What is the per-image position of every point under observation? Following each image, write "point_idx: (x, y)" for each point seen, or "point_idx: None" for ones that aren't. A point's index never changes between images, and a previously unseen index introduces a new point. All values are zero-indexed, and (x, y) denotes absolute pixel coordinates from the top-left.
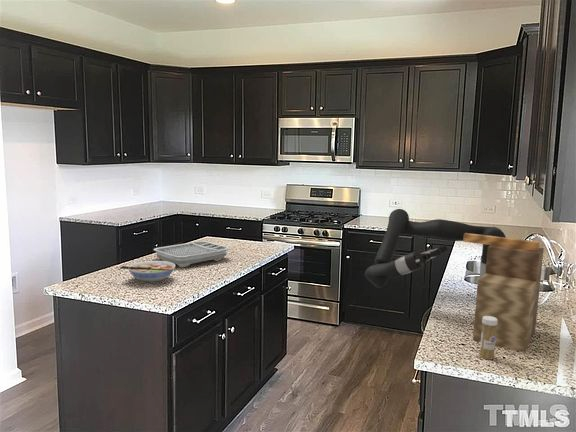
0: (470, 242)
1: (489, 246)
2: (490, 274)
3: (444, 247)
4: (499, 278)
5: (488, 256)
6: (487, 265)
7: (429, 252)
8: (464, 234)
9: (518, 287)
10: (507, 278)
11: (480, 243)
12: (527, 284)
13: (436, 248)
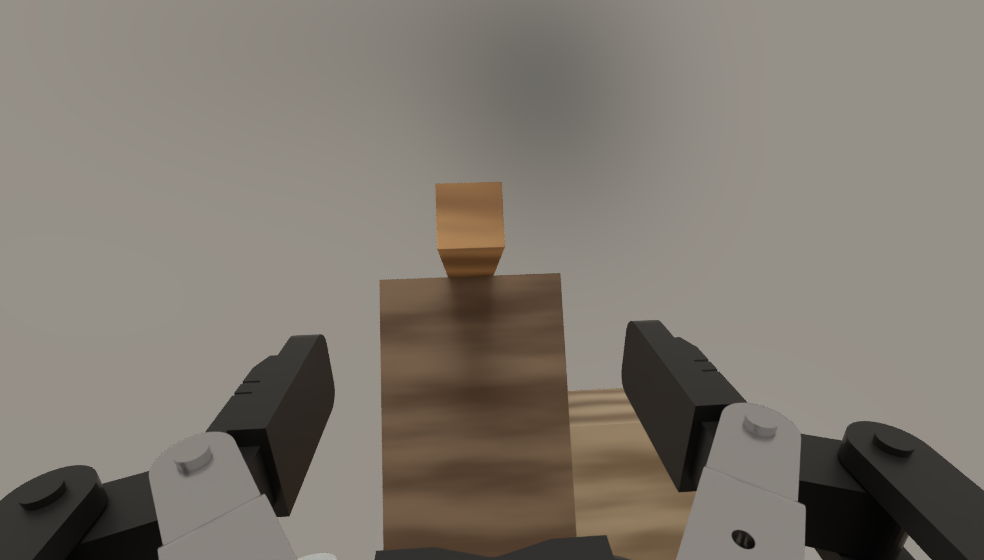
0: (499, 257)
1: (540, 274)
2: (573, 420)
3: (317, 366)
4: (610, 408)
5: (562, 325)
6: (565, 378)
7: (767, 411)
8: (501, 187)
9: None
10: (579, 405)
11: (496, 266)
12: (601, 392)
13: (206, 446)
